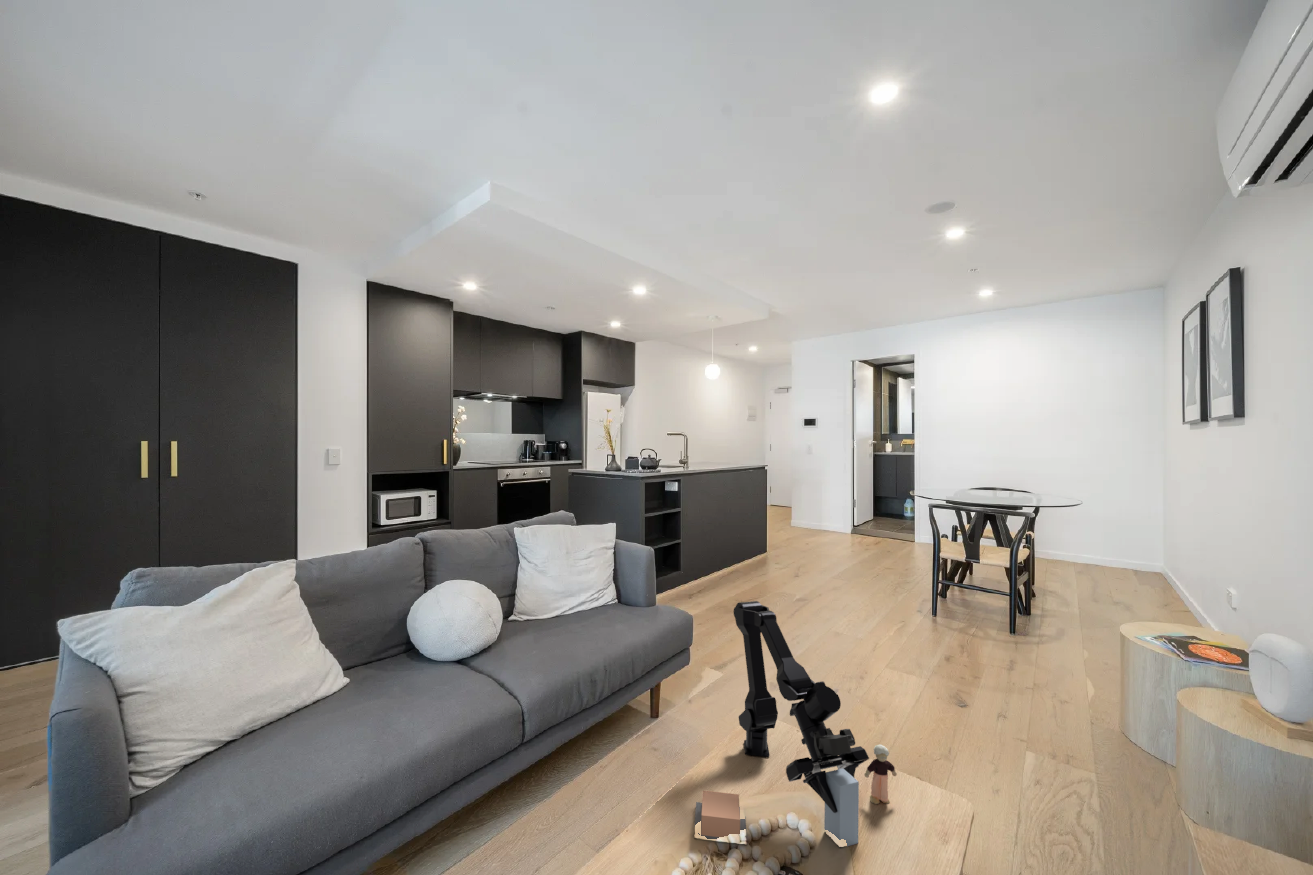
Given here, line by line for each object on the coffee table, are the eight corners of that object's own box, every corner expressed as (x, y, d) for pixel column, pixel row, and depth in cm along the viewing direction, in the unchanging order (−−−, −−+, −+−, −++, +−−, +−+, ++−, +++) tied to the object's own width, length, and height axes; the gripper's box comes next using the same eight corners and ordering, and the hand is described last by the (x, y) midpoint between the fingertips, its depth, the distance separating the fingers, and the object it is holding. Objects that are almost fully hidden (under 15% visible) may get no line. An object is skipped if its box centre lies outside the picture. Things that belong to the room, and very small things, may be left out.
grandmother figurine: (873, 807, 116) (873, 751, 116) (862, 796, 119) (862, 742, 120) (900, 802, 118) (901, 747, 118) (889, 792, 121) (889, 738, 122)
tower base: (696, 806, 115) (696, 783, 115) (744, 811, 113) (745, 789, 113) (693, 838, 105) (694, 814, 105) (747, 845, 103) (747, 820, 104)
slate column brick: (824, 831, 108) (824, 772, 108) (842, 827, 109) (842, 768, 110) (839, 848, 103) (840, 786, 104) (858, 842, 105) (858, 781, 105)
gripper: (794, 722, 108) (827, 809, 97) (863, 710, 114) (902, 790, 103) (773, 740, 115) (802, 823, 104) (839, 727, 121) (873, 804, 110)
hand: (845, 809), depth 105 cm, fingers closed on slate column brick, 5 cm apart
